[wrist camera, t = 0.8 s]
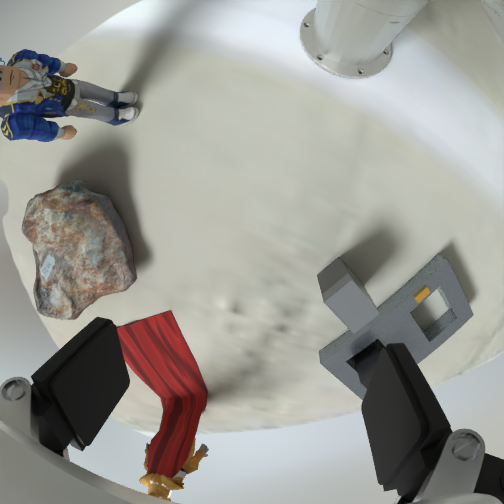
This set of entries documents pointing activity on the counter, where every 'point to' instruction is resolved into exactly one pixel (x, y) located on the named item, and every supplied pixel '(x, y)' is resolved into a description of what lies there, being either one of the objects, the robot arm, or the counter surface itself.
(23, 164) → the counter surface
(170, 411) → the figurine
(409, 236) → the counter surface
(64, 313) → the stone
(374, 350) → the power strip
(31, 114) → the figurine
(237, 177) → the counter surface
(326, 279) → the plug
